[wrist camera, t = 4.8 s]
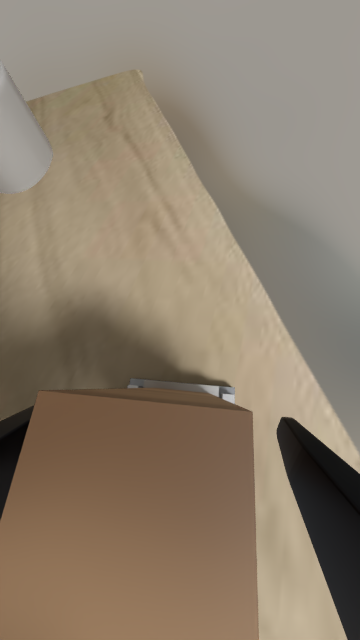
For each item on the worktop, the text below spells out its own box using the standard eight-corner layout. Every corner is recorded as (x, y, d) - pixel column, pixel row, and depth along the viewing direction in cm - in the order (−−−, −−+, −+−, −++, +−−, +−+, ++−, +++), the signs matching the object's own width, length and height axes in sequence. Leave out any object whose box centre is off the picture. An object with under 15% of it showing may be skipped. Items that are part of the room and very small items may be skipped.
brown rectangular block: (215, 465, 13) (340, 921, 2) (136, 455, 14) (-129, 771, 2) (217, 386, 15) (291, 385, 4) (146, 379, 15) (14, 361, 4)
